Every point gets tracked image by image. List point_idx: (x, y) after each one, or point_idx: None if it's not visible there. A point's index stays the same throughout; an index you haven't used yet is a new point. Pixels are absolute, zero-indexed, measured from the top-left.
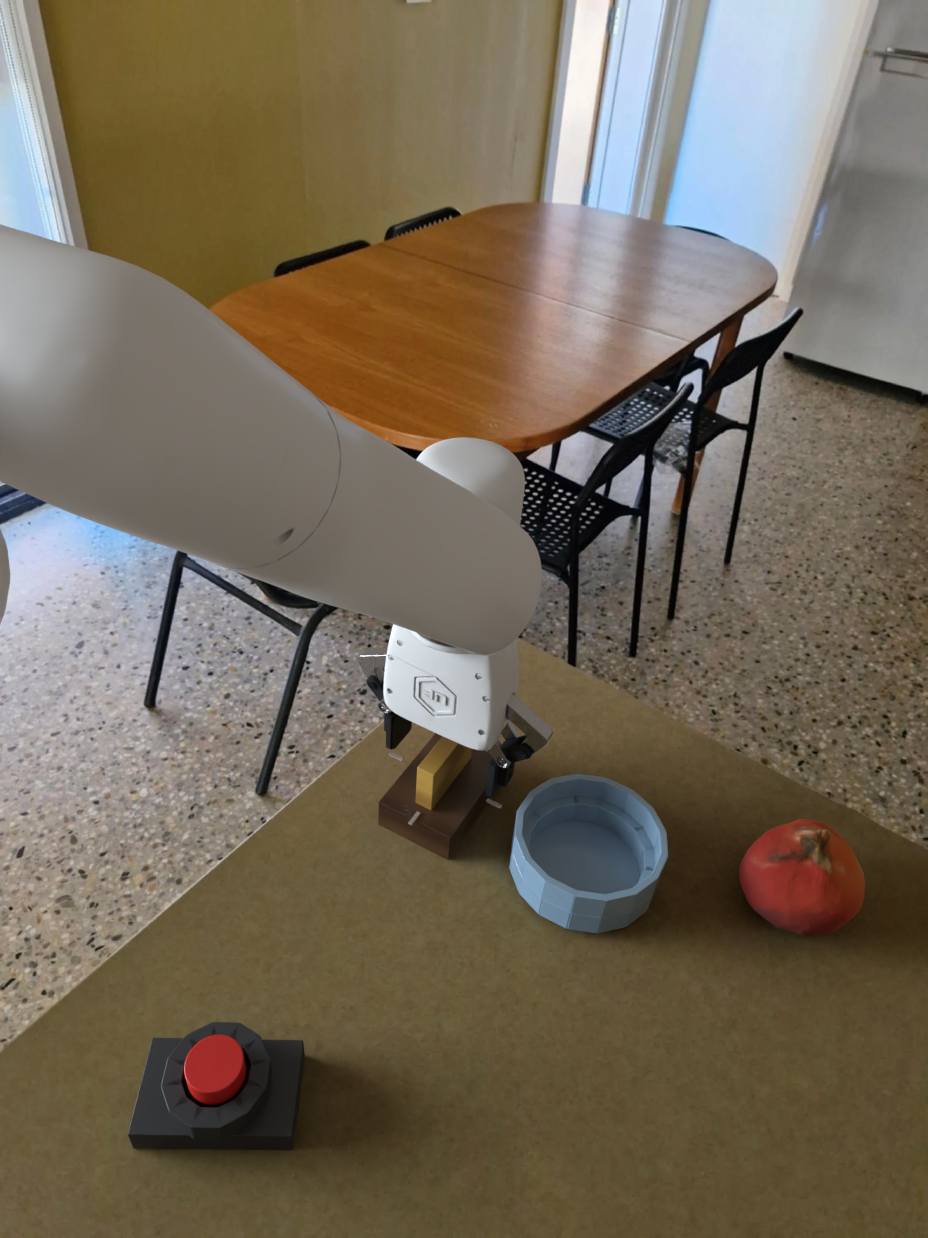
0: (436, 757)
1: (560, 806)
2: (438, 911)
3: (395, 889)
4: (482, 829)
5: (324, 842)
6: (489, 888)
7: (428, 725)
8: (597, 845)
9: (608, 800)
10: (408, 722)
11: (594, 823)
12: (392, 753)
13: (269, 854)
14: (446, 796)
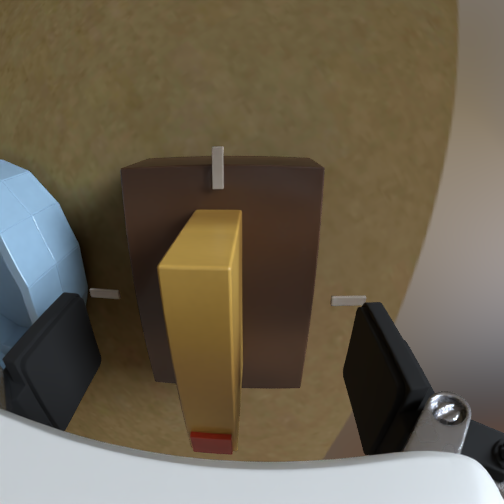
0: (199, 336)
1: None
2: (112, 65)
3: (198, 52)
4: None
5: (375, 76)
6: (70, 154)
7: (173, 495)
8: (16, 300)
9: None
10: (353, 389)
11: None
12: (359, 303)
13: (432, 26)
14: None
